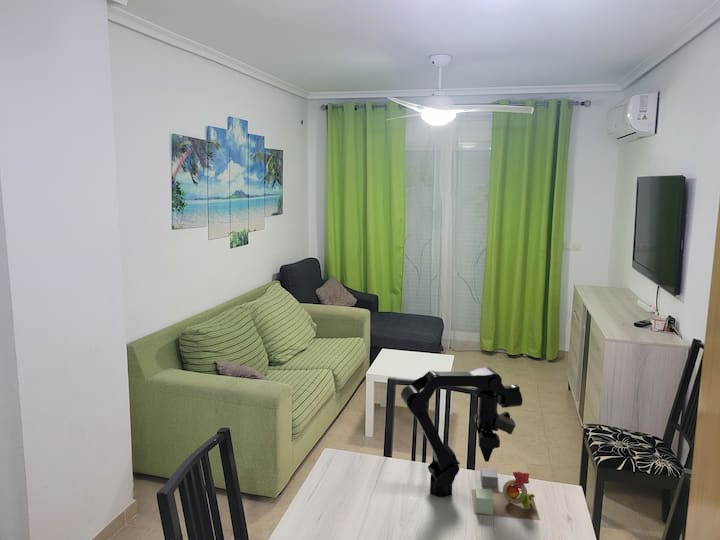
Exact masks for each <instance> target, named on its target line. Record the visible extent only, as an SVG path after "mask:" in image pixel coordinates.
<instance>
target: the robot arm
mask: <svg viewBox="0 0 720 540" xmlns="http://www.w3.org/2000/svg"><path fill="white" fill-rule="evenodd" d="M439 387H440V388H441V387H443V388H445V387H446V388H452V387H453V388H454V387H455V388H456V387H457V388H459V387H463V388H465V387H469V388H471V387H472V388H476V389H475V390H473V391H472V394H473V395H475V397H477V398H478V399H479V400H478V407H477V412H476V413H475V414H474V425H475V428H476V431H477V434H478V435H477V438H478V439H477V441H478V447H479V448H480V452H481V455H482V457H483V460H484V462H485V463H486V462H490V459H491V456H492V453H493V450H494V449H498V448H500V446H501V439H500V436H499V434H498V433H496V432H499V430H500V431H503V432H505V433H507V434H508V435H512V434H513V432H514V431H515V427H516V422H515V420H514V419H513V418H511V415H510V412H508V411H504V412H502V413H500V414H499V412H498V405H499V406H500V407H501V408H506V409H507V408H514V407H521V406H522V405H523V396H522V392H521V391H520V386H519V385H518V384H511V385H503V379H502V377H501V376H500V374H499V373H497V372H496V371H494V369H492V368H491V367H488V366H487V367H486V366H485V367H479V368H476V369H474V370H471V371H435V370H428V371H427V372H426V373H425V374H424V375H422V376H420V377H419V378H416V379H415V380H413V381H412V382H411V383H410V384H409V385H406V386H405V387H403V389H402V390H401V393H400V397H401V399H402V401H403V403H404V404H405V405H406V406H407V408H408V409H409V411H410V412H411V413H412V415H413V416H414V417H415V418H416V421H417V423H418V424H419V426H420V429H421V431H422V432H423V434H424V436H425V438H426V440H427V441H428V444H429V445H430V447H431V450H432V456H433V461H432V462H430V464H429V465H427V469H428V472H429V473H430V478H429V479H430V481H429V482H430V483H429V484H430V485H429V494H430V495H433V496H435V497H437V498H445V497H450V496H453V483H454V481H455V480H456V479H455V478H456V476H458V474H459V471H460V465H461V463H460V461H459V460H458V459H457V456H456V453H455V452H454V451H453V449H452V448H451V447H450V445H449V444H447V445H446V446H445V445H444V442H443V441H442V439H441V437H440V435H439V432H438V431H437V429H436V426H435V425H434V423H433V421H432V419H431V417H430V415H429V412H428V410H429V409H428V405H427V402H428V401H429V400H431V398H432V396H433V395H434V393H435V391H436V390H437V389H438V388H439Z"/></svg>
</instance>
